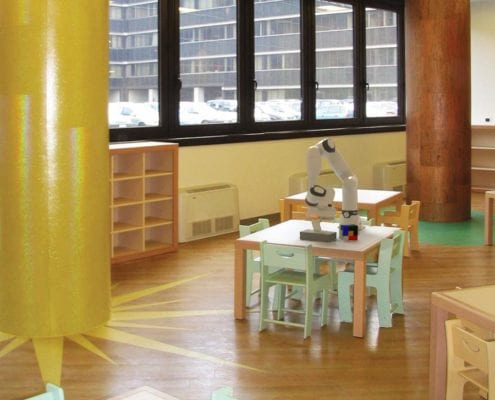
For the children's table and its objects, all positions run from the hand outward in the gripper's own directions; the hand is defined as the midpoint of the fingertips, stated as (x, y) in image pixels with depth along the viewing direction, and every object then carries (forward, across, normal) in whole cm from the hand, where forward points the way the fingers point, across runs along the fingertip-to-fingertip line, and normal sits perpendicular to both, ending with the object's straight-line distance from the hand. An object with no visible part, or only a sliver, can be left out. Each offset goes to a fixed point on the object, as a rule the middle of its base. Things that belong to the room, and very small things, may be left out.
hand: (317, 223), depth 564 cm
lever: (+3, 0, +6) cm, 6 cm away
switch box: (+6, 0, +9) cm, 11 cm away
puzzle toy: (0, +18, +17) cm, 24 cm away
